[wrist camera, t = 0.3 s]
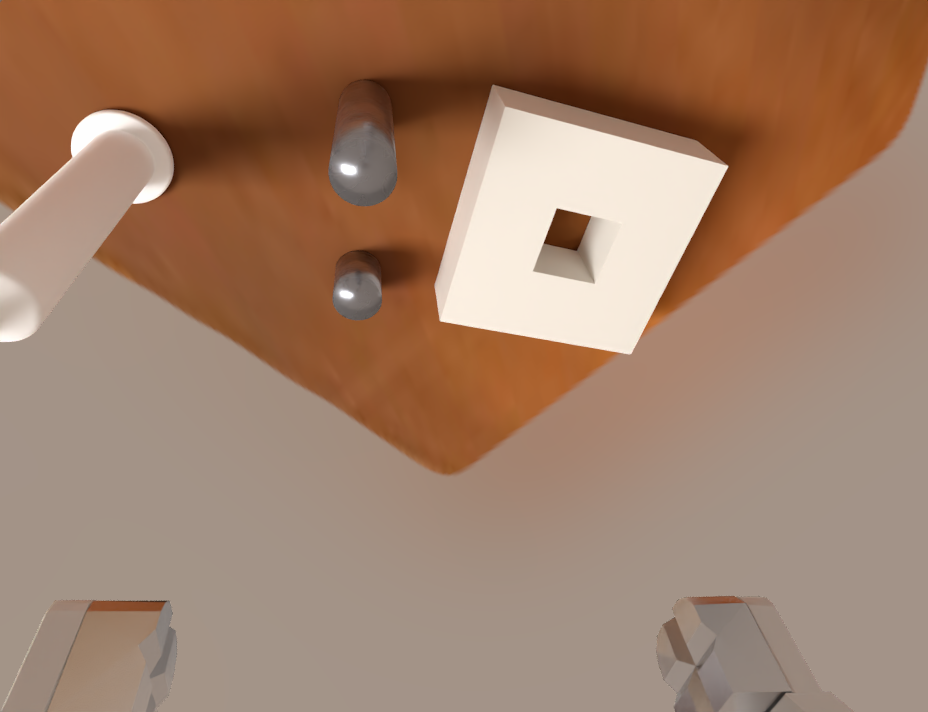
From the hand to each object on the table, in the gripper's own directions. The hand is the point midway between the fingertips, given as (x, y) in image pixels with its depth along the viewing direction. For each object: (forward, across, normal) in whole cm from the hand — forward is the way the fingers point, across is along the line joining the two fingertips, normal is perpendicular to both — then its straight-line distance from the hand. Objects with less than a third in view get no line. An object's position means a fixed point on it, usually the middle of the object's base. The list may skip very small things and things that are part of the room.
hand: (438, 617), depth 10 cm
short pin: (+46, +1, +19) cm, 49 cm away
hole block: (+46, -16, +12) cm, 50 cm away
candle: (+46, +19, +10) cm, 51 cm away
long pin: (+46, +1, +5) cm, 46 cm away
